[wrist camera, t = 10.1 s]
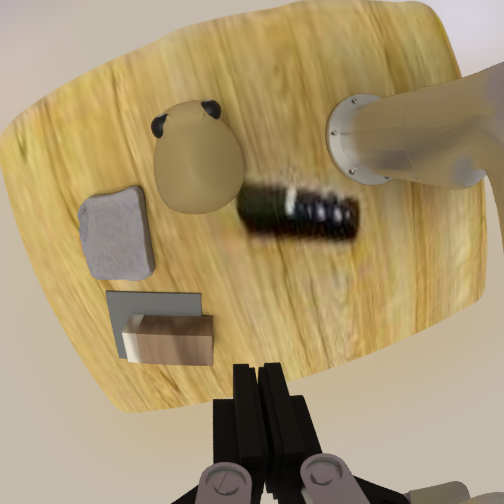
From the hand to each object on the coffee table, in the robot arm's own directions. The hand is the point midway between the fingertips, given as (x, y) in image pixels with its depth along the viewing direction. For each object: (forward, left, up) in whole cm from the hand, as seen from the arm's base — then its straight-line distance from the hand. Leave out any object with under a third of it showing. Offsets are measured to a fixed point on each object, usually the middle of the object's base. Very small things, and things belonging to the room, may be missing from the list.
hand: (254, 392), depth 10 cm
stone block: (+15, +2, -30) cm, 33 cm away
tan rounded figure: (+4, -8, -29) cm, 31 cm away
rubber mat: (+11, +16, -29) cm, 35 cm away
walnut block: (+2, +16, -26) cm, 31 cm away
